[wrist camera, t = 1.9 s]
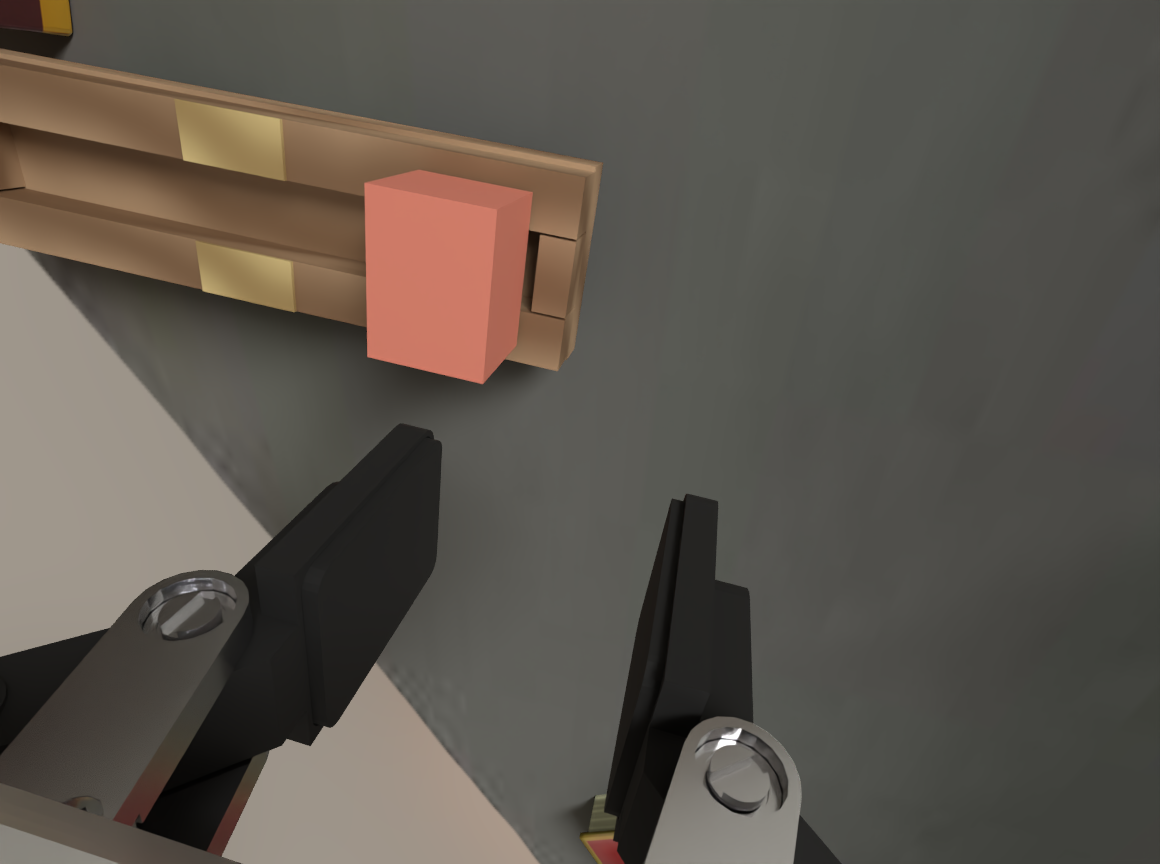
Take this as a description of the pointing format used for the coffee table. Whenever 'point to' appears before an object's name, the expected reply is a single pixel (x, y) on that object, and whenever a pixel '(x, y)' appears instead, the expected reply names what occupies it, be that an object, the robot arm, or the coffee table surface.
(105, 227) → the beam
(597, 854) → the hardcover book
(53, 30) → the supplement box
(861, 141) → the coffee table surface
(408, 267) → the block
